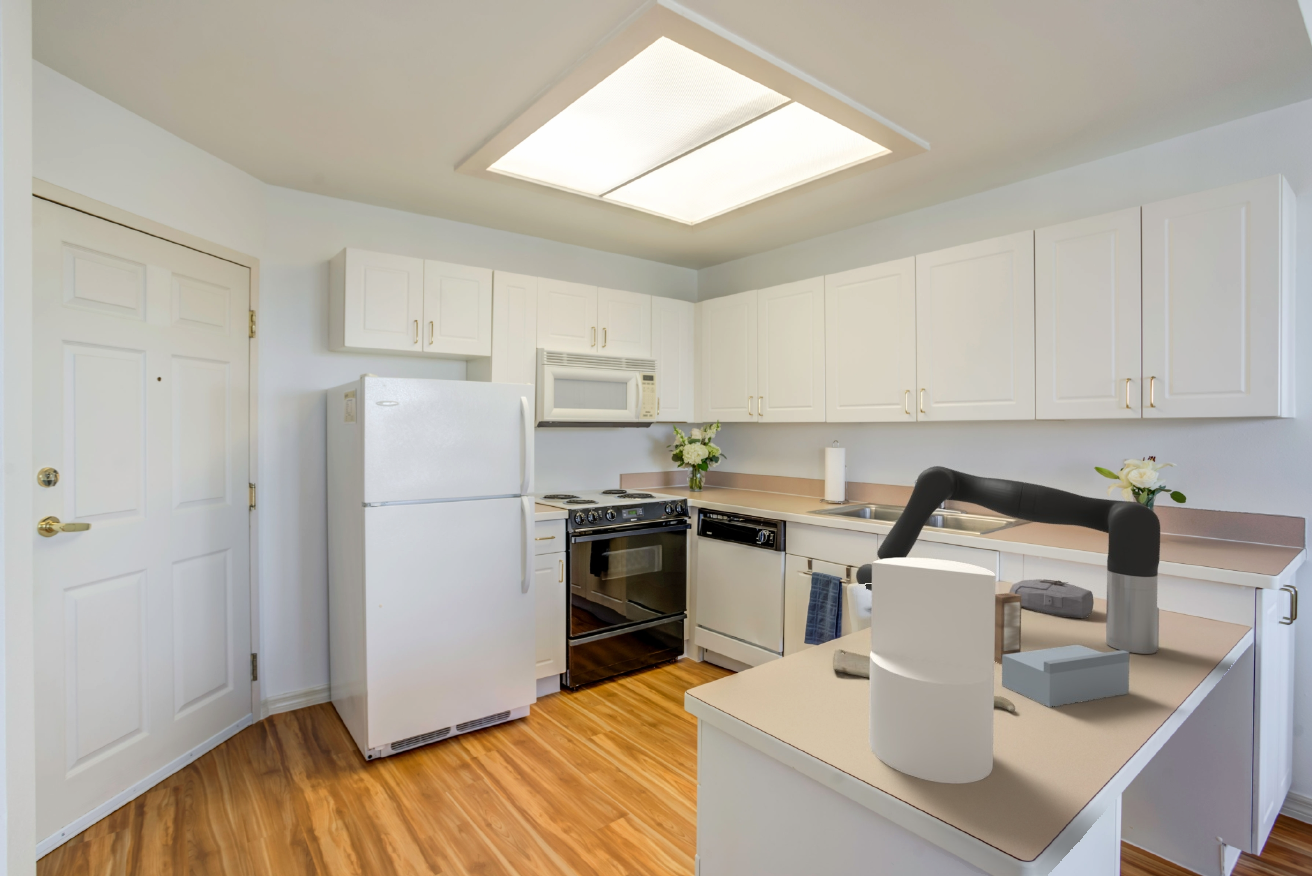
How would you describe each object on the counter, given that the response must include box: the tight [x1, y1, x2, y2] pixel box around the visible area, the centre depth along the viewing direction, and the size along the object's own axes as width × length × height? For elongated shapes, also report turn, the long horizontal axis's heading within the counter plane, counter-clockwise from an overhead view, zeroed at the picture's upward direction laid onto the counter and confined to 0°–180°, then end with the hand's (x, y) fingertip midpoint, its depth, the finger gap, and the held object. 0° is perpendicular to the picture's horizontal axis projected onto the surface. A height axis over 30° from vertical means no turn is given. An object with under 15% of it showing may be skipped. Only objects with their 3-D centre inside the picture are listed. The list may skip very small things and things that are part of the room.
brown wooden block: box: [994, 592, 1022, 665], centre depth 134 cm, size 6×6×14 cm
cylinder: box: [868, 556, 996, 784], centre depth 95 cm, size 17×17×28 cm
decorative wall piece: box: [832, 648, 1016, 712], centre depth 126 cm, size 30×3×30 cm
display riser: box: [1001, 644, 1130, 708], centre depth 119 cm, size 20×10×8 cm, turn 109°
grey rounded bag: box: [1008, 578, 1094, 619], centre depth 175 cm, size 15×8×20 cm
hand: (967, 610), depth 144 cm, fingers open, 8 cm apart
